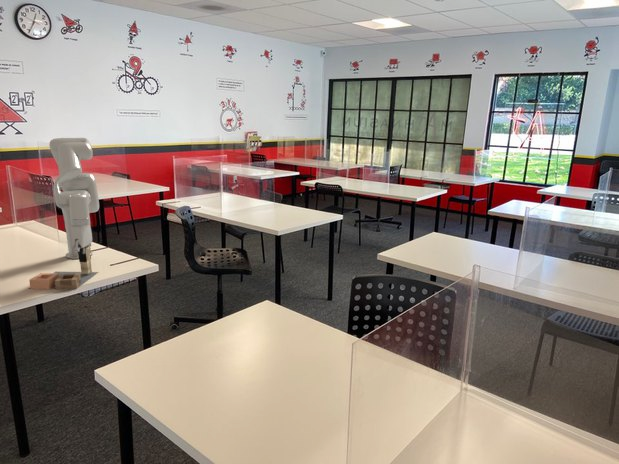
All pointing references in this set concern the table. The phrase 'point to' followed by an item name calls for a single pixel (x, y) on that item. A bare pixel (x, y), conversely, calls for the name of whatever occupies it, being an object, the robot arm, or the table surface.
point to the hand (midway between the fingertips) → (85, 260)
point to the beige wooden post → (86, 265)
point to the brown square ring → (68, 281)
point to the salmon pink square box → (43, 281)
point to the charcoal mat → (83, 277)
